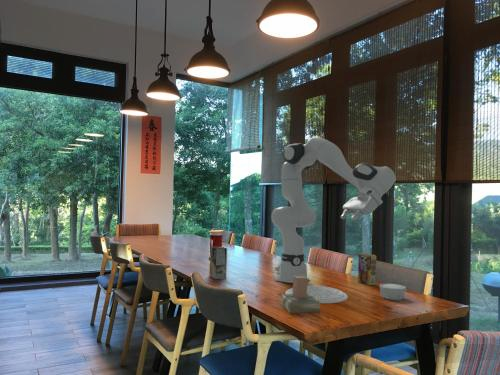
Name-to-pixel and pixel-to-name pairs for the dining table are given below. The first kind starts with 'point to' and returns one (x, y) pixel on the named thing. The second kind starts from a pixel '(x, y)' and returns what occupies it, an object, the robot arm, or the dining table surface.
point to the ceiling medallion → (324, 294)
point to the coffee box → (218, 262)
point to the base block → (300, 303)
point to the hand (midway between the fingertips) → (347, 218)
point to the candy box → (367, 269)
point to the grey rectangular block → (299, 287)
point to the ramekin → (392, 291)
